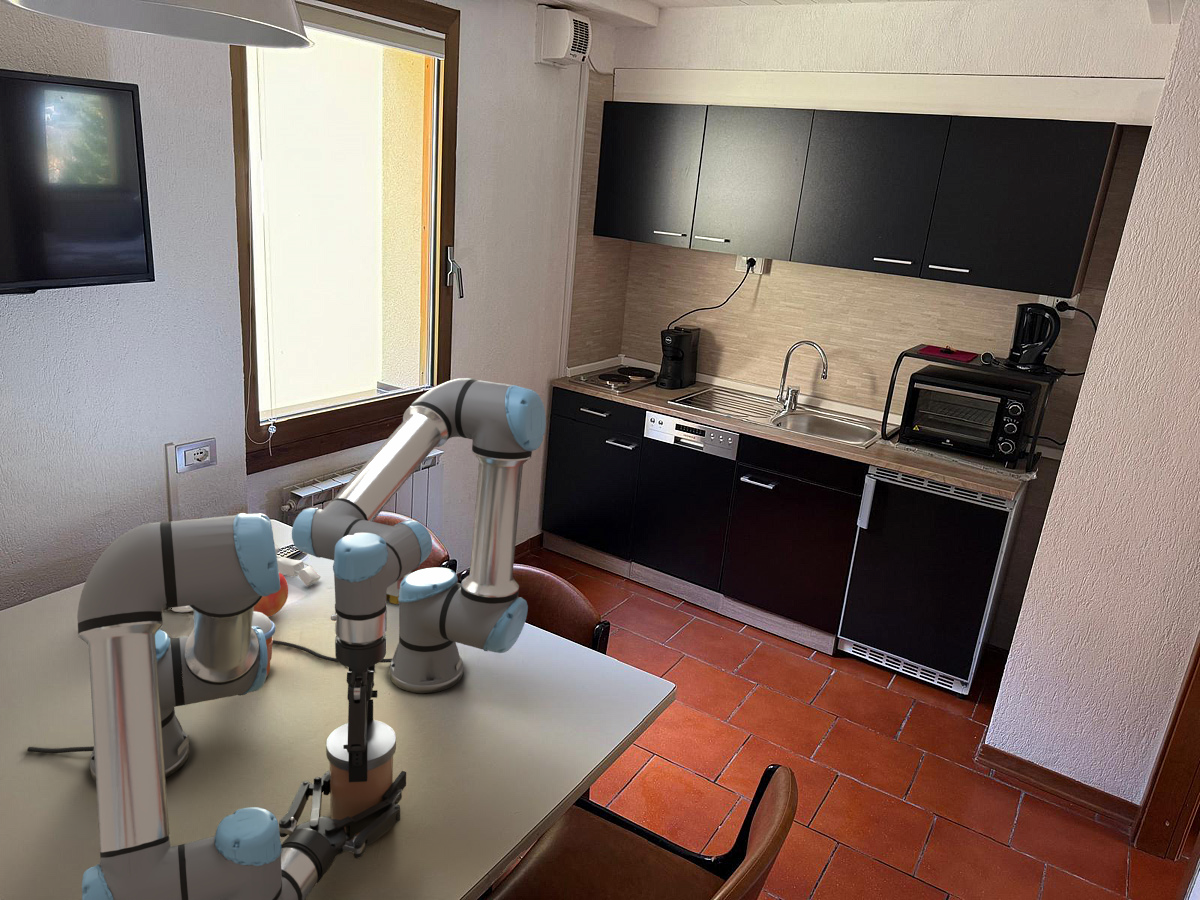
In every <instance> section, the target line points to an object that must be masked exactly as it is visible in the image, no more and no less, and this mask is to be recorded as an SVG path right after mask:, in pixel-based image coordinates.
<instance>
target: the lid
mask: <svg viewBox="0 0 1200 900" xmlns="http://www.w3.org/2000/svg"><path fill="white" fill-rule="evenodd" d="M366 742H367V770H371V769H374V768H377V767H379V766H381V765H383V764H385V763H386V762H388V761H389V760H390V759H391V758H392V756H393V757H394V755H395V754H396V750H397V733H396V731H395V730H394V729H393V728H392V726H390V725H389V724H387V723H385V722H383V721H380V720H375V719H373V720H367V730H366ZM344 744H348V722H347V723H346V722H345V723H344V724H342V725H339V726H338V727H336V728H334V729H333V731H332V732H331V733H329V735H328V736H327V739H326V741H325V745H326V746H325V752H326V753H325V754H326V759H327V760H328V762H329V764H330V763H331V764H332V765H333V766H335V767H337V768H339V769H342V770H346V771H349V753H348V752H347V749H344V748H343V745H344Z"/></svg>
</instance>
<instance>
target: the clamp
mask: <svg viewBox="0 0 1200 900" xmlns="http://www.w3.org/2000/svg"><path fill="white" fill-rule="evenodd" d="M280 549H281V547H279V546H278V545H277V544H275V550H276V556H277V563H278V570H279V573H281V574H282V575H283V576H288V577H292V578H296V577H298V578H299V579H300V580H301V582H303V584H304V585H305V587H309V586H312V585H314V584H316V583H318V582H319V580H320V579H321V578H322V577H321V575H320V574H319V573H318V572H317V570H315V569H314V568H313V566H312V565H310V564H309V565H308V564H307V563H305V562H304V561H303V560H301V559H300V560H299V559H292V558H289V557H285V556H278V553H279V551H280ZM305 566H306V567H305Z"/></svg>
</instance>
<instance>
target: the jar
mask: <svg viewBox="0 0 1200 900" xmlns="http://www.w3.org/2000/svg"><path fill="white" fill-rule="evenodd" d="M329 771H330V793H329V805H330V806H329V807H330V809H329V811H330V813H329V814H330V818H331V819H338V820H342V819H343V818H345V817H348V816H349V817H353V816H355V815H357V814H359V813H361V812H363V811H365V810H366V809H368V808H370V807H372V806H374V805H376V804H378V803H380V802H382V801H383V795H384V794H385V792H386V791H387V790H388V788H389V787H390V786H391V784H392V783H393V782H394V755H393V756H392V758H391V759H390V760H389V761H388V762H386V763H385V764H383V765H381V766H379V767H377V768H374V769H371V770H367V781H366V782H349V771H346V770H342V769H339V768H337V767H335V766H333V765H332V764H331V763H330V762H329ZM345 832H346V827H345ZM359 833H360V832H359ZM359 833H358V834H359ZM358 834H356V835H358ZM351 840H352V839H351ZM349 841H350V840H349Z"/></svg>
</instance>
